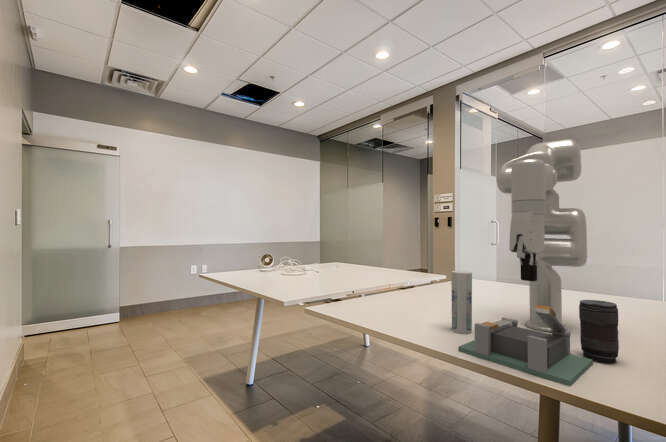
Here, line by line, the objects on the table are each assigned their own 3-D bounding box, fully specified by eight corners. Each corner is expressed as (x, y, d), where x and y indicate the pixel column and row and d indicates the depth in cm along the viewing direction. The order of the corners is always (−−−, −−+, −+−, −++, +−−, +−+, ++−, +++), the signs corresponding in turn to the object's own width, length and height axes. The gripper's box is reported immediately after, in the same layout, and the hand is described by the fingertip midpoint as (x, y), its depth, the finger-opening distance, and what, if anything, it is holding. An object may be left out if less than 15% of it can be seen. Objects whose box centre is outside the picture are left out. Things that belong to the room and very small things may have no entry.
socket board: (489, 337, 102) (489, 310, 102) (592, 364, 82) (592, 330, 82) (458, 350, 90) (458, 320, 90) (569, 386, 70) (569, 346, 70)
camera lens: (580, 350, 91) (579, 297, 92) (618, 358, 86) (617, 302, 86) (579, 359, 85) (578, 302, 85) (620, 367, 80) (619, 307, 80)
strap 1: (502, 322, 97) (502, 316, 97) (513, 325, 94) (513, 319, 94) (478, 330, 88) (479, 323, 88) (490, 333, 85) (490, 326, 85)
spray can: (451, 327, 112) (451, 270, 113) (471, 329, 110) (471, 271, 111) (451, 332, 106) (451, 272, 107) (472, 335, 104) (472, 273, 105)
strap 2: (552, 331, 86) (553, 324, 87) (566, 334, 84) (567, 327, 85) (534, 311, 79) (535, 304, 79) (549, 314, 76) (550, 307, 77)
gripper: (525, 210, 90) (525, 276, 89) (499, 207, 81) (499, 281, 80) (556, 209, 84) (557, 280, 83) (531, 206, 75) (532, 285, 74)
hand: (528, 280), depth 81 cm, fingers closed
